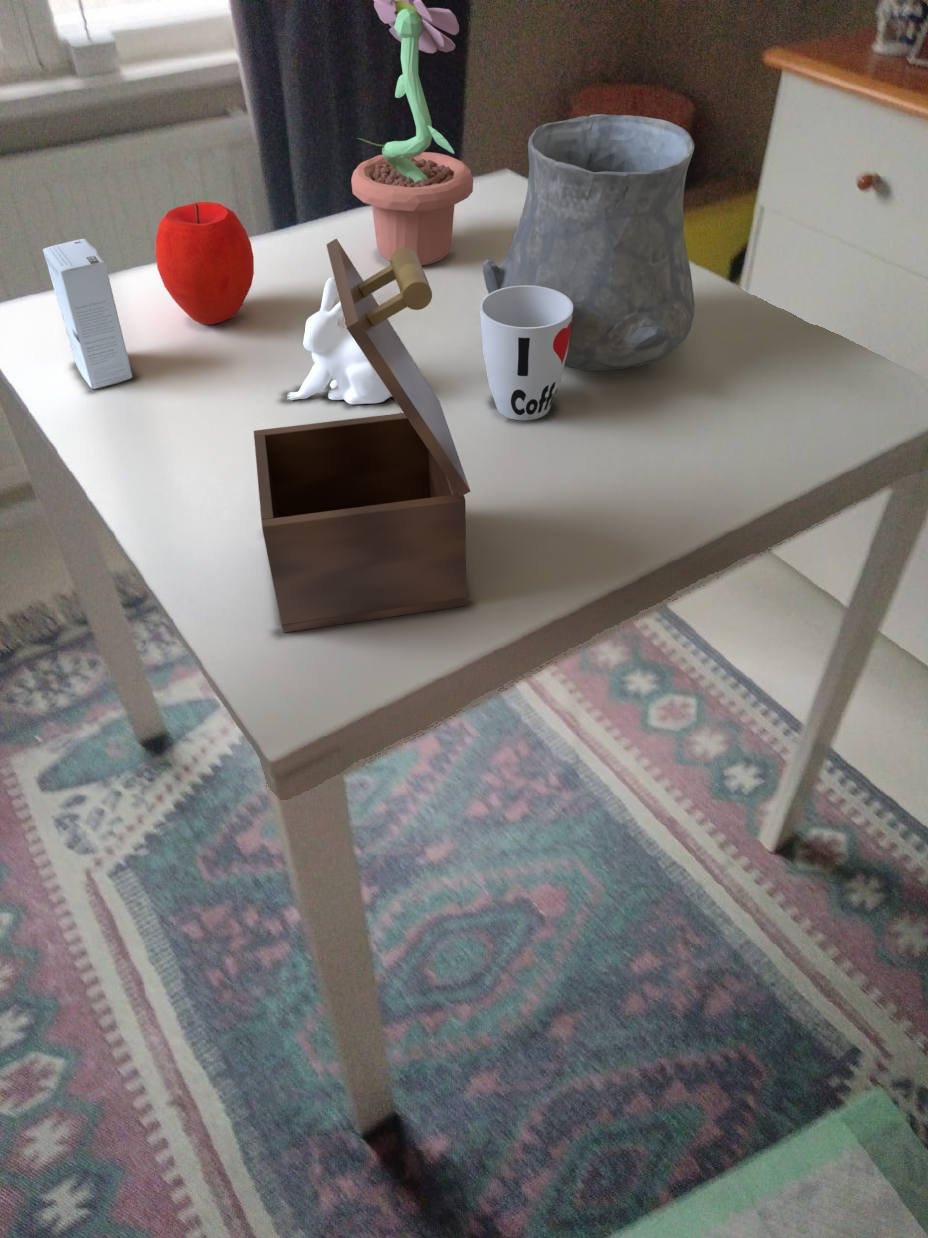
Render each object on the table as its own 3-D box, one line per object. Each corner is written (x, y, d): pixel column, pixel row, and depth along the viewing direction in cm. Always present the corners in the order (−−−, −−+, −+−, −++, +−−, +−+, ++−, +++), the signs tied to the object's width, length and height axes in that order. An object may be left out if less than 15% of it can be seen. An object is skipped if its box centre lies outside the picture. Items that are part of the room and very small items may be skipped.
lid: (346, 327, 56) (422, 282, 55) (325, 244, 64) (391, 203, 63) (460, 497, 66) (526, 461, 65) (430, 405, 74) (488, 372, 73)
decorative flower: (504, 252, 116) (510, -48, 96) (425, 293, 109) (412, -23, 88) (413, 220, 124) (400, -67, 103) (333, 256, 116) (301, -45, 95)
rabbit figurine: (284, 400, 93) (269, 305, 87) (308, 361, 99) (295, 268, 92) (406, 412, 92) (401, 315, 85) (424, 371, 97) (420, 277, 90)
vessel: (538, 423, 90) (549, 203, 76) (461, 316, 105) (458, 116, 91) (747, 381, 95) (793, 167, 81) (644, 285, 110) (668, 90, 96)
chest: (282, 633, 71) (261, 526, 64) (272, 533, 79) (253, 430, 72) (467, 605, 73) (465, 499, 66) (438, 511, 81) (435, 408, 74)
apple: (231, 348, 101) (208, 230, 92) (150, 331, 103) (121, 215, 95) (279, 305, 107) (262, 192, 99) (202, 291, 110) (179, 179, 102)
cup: (506, 438, 88) (508, 336, 81) (465, 396, 94) (463, 297, 87) (582, 415, 91) (591, 314, 84) (538, 375, 96) (542, 277, 89)
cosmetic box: (74, 365, 99) (36, 246, 90) (118, 352, 100) (84, 235, 92) (93, 392, 95) (55, 271, 86) (138, 378, 96) (105, 259, 88)
